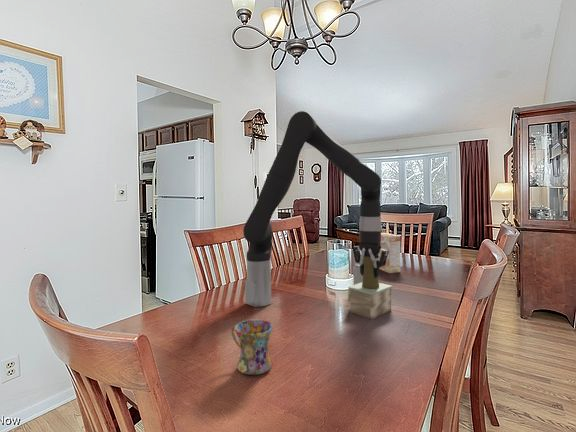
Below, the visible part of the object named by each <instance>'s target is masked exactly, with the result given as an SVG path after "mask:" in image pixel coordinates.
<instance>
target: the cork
mask: <svg viewBox="0 0 576 432" xmlns="http://www.w3.org/2000/svg"><path fill="white" fill-rule="evenodd" d="M375 259H376V257H375ZM362 261H363V264H364V272H363V281H362V287H364V288H369V289H373V288H378V287H379V283H380V282H379V277H378V278H374V273H373V268H375V267H374V265H373V264H374V262H373V261H372V260H371V257H369V256H364V258H363V260H362ZM376 262H377V261H376Z"/></svg>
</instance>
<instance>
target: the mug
mask: <svg viewBox="0 0 576 432" xmlns="http://www.w3.org/2000/svg"><path fill="white" fill-rule="evenodd" d="M273 328H274V326H273V324H272V322H270V321H268V320H265V319H254V318H253V319H247V320H243V321H240V322H239V323H237V324H235V326H232V328H231V331H230V333H231V336H232V339H233V341H234V343H235V344H236V346H238V347H239V349H240V356H239V360H238V362H237V365H236V367H237V370H238V371H239V372H240V373H242V374H245V375H251V376H257V375H261V374H264V373H266V372H268V371H269V370H270V369H271V367H272V364H273V363H272V360H271V358H270V355H269V348H268V347H269V341H270V335H271V333H272V331H273ZM235 333H236V335H235ZM236 336H237V337H236ZM237 338H238V339H237Z"/></svg>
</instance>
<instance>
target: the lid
mask: <svg viewBox="0 0 576 432" xmlns="http://www.w3.org/2000/svg"><path fill="white" fill-rule="evenodd" d="M349 289H350V290H354V291H358V292H362V293H366V294H370V295H376V294H378V293H381V292H383V291H386V290H388V289H391V290H392V289H393V285H391V284H386V283H383V282H382V283H381V282H379V287H378V288H373V289H369V288H364V287H362V282H361V283H358V284H355V285H353V284H352V285H350V286H348V290H349Z"/></svg>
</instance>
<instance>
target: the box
mask: <svg viewBox="0 0 576 432" xmlns="http://www.w3.org/2000/svg"><path fill="white" fill-rule="evenodd" d="M347 294H348V303H347V307H348V312H349V313H352V314H355V315H358V316H361V317H365V318H367V319H371V320H374V319H376V318H378V317H380V316H382V315H384V314H387V313H388V312H391V311H392V288H391V289H388V290H386V291H383V292H381V293H378V294H376V295H370V294H366V293H362V292H358V291H354V290H350V289H349V288H348V293H347Z"/></svg>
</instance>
